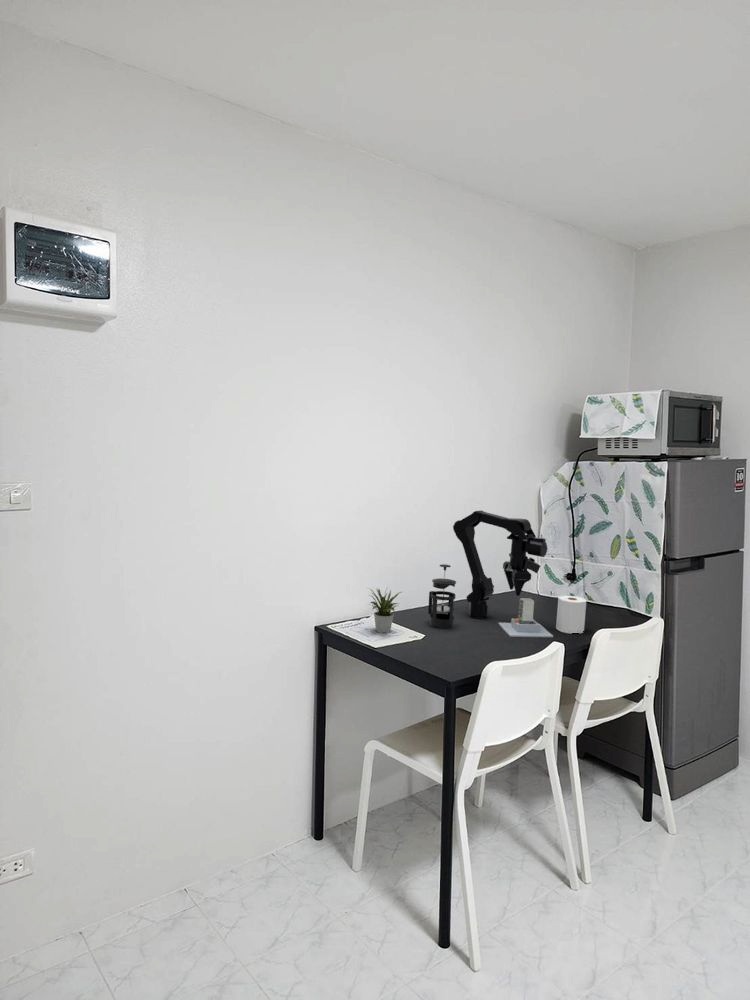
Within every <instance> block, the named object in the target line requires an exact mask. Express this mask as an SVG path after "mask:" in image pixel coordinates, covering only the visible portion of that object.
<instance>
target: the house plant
mask: <svg viewBox="0 0 750 1000" xmlns="http://www.w3.org/2000/svg"><path fill="white" fill-rule="evenodd" d="M367 589H369V590H370V591H371V594H372V595H373V596H372V595H370V594H369V596H370V597H371V598H372V599H373V600H374V601H370V602H369V604H367V605H370V606H372V609H371V610H372V611H373V610H374V609H375V610H376V611H375V612H374V613H373V615H374V624H375V631H376V630H377V631H379V632H378V633H380V632H388V633H390V632H391V629H392V624H393V619H394V616H395V614H394V612H395V608H396V607H399V605H398V604H400V603H398V602H393V601H394V599H395V598H396V597H398V595H399V594H401V593H403V591H399V592H398V593H396V594H395V595H394V596H391V593H392V590H389V593H387V589H388V586H387V587H386V589H385V591H384V596H383V595H382V594H381V593H382V592H381V590H380V588H376V592H377V594H378V596H377V595H376V593H375V591H374V590H372V589H371V588H368V587H367ZM387 594H388V595H387ZM379 598H380V599H379ZM386 598H387V599H386ZM391 611H392V612H391ZM377 631H376V632H377ZM389 631H390V632H389Z"/></svg>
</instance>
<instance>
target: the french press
mask: <svg viewBox="0 0 750 1000" xmlns="http://www.w3.org/2000/svg"><path fill="white" fill-rule="evenodd" d="M439 567H441V568H443V571H444V572H443V578H433V579H432V587H433V588H436V589H440V590H437V591H436V590H435V591H434V590H431V591H430V590H429V591H428V593H429V594H428V609H427V611H428V612H427V613H428V615H429V624H428V625H429V626H430V627H432V628H435V629H441V630H442V629H443V630H447V629H452V628H454V627H455V624H454V623H455V621H454V620H455V617H454V610H455V609H454V601H455V600H456V593H453V592H450V591H445V589H447V588H449V586H450V587H453V588H455V586H456V584H457V581H456V580H454V579H449V578H446V571H447V568H451V565H449V564H446V563H445V564H444V563H443V564H439ZM440 595H441V596H440ZM438 600H439V601H442V603H441V604H442V605H438ZM444 601H448V605H444Z"/></svg>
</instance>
